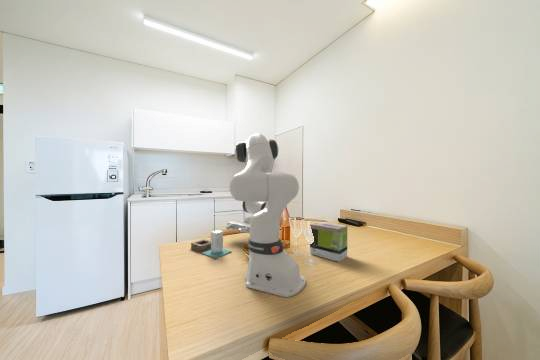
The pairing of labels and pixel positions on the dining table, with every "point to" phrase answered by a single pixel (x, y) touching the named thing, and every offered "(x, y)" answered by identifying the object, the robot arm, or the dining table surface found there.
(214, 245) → the steel peg
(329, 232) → the tea box
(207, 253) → the rubber mat
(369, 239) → the dining table surface
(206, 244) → the socket block
